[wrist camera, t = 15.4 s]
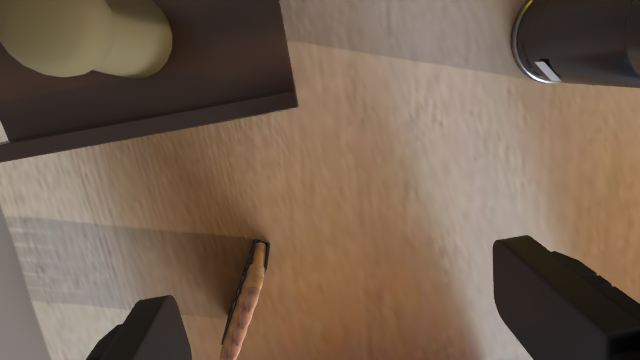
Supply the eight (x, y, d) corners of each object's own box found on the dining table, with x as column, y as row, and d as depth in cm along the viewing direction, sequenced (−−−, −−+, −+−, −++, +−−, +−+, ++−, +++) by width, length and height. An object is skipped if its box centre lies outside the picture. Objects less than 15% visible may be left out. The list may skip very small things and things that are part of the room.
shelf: (27, -18, 36) (-114, -62, 23) (267, -60, 36) (255, -125, 24) (81, 133, 40) (-15, 165, 27) (296, 94, 40) (298, 108, 28)
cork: (176, 78, 29) (113, 86, 19) (92, 79, 29) (-21, 88, 18) (167, -10, 28) (91, -56, 17) (78, -11, 27) (-56, -58, 17)
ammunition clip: (254, 238, 44) (242, 299, 33) (270, 243, 45) (263, 305, 33) (227, 317, 47) (207, 399, 35) (242, 321, 47) (227, 404, 36)
